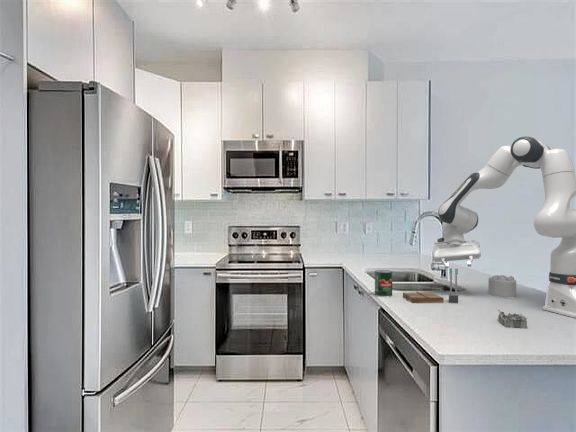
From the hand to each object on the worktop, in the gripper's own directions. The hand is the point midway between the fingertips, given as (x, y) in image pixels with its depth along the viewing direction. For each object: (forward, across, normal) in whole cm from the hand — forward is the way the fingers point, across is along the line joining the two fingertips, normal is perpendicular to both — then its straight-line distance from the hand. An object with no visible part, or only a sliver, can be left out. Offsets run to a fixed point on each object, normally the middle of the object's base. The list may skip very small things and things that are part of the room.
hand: (458, 266), depth 196 cm
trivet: (+16, +16, 0) cm, 23 cm away
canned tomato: (+10, +33, -3) cm, 35 cm away
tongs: (+18, +4, 0) cm, 18 cm away
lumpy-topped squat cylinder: (+3, -18, -21) cm, 28 cm away
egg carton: (+41, -14, +21) cm, 48 cm away
